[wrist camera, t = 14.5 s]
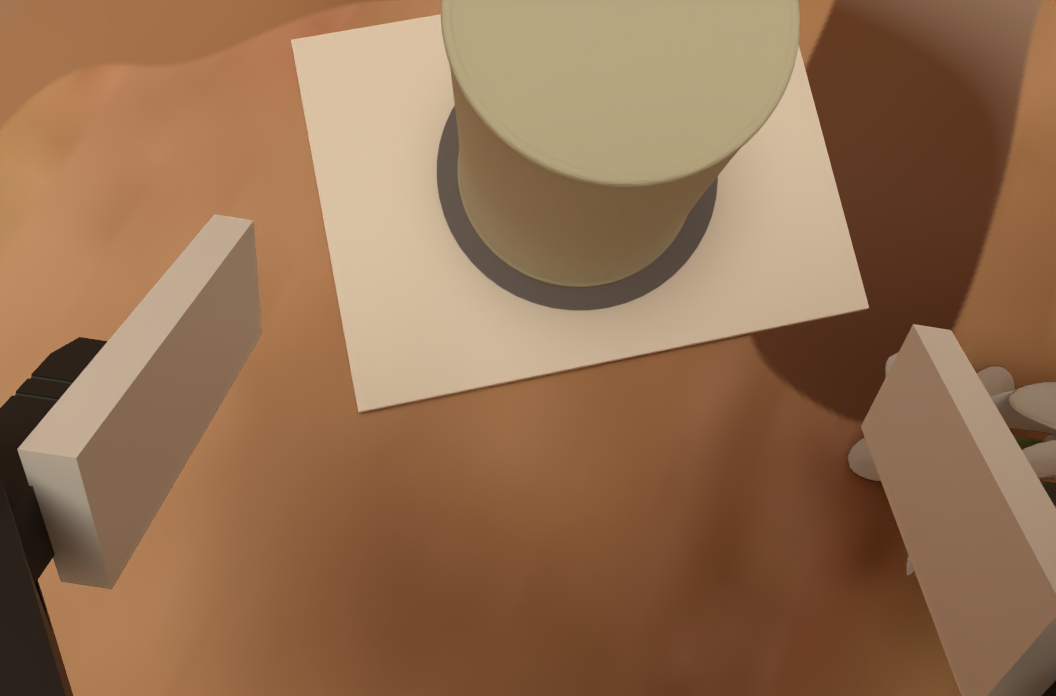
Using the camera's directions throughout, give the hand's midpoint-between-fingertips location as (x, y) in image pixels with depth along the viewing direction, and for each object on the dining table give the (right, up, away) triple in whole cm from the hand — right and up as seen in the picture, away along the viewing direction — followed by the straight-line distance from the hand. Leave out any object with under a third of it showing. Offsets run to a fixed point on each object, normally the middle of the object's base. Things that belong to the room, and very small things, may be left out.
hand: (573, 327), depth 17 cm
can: (+1, +6, +16) cm, 17 cm away
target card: (+1, +6, +16) cm, 17 cm away
